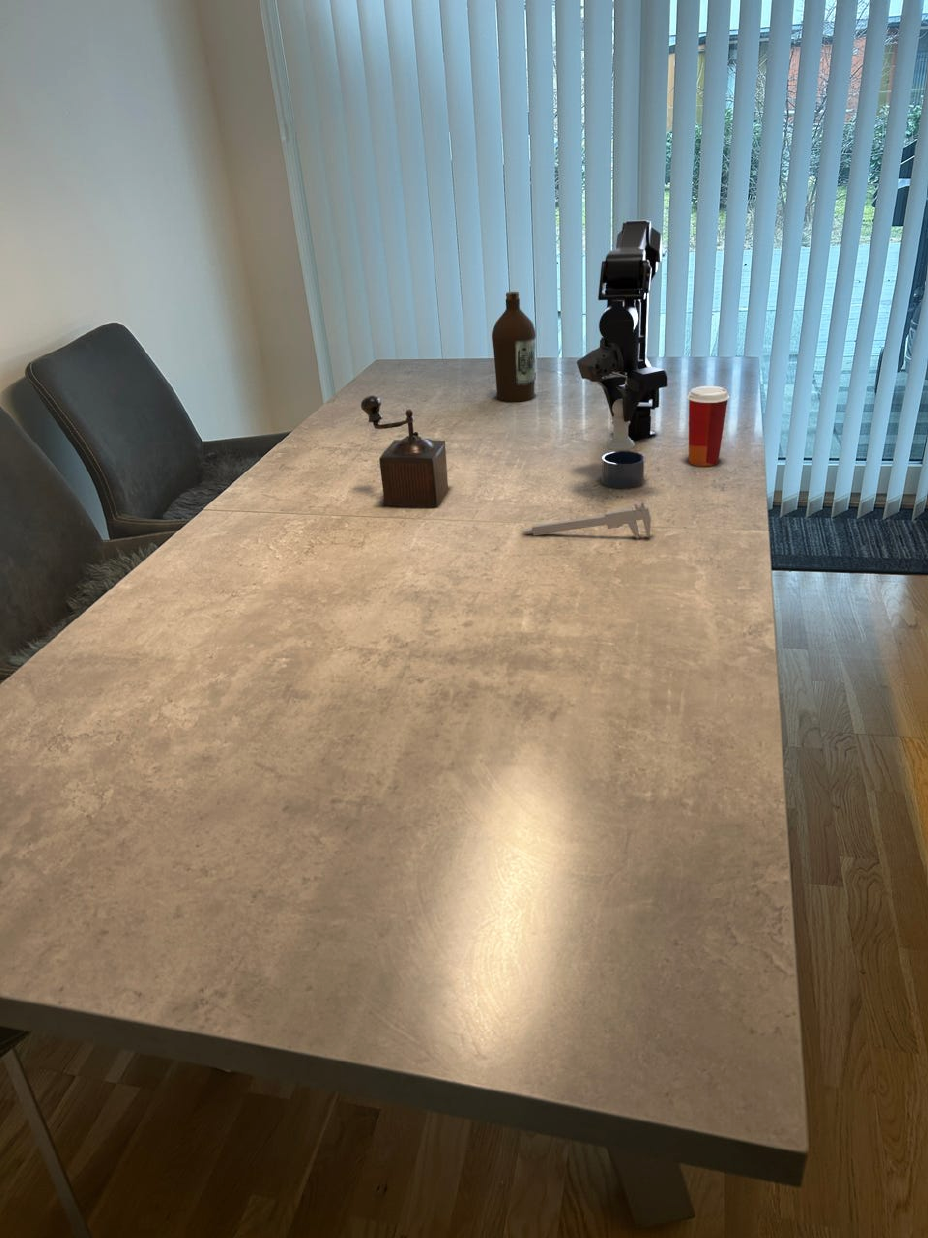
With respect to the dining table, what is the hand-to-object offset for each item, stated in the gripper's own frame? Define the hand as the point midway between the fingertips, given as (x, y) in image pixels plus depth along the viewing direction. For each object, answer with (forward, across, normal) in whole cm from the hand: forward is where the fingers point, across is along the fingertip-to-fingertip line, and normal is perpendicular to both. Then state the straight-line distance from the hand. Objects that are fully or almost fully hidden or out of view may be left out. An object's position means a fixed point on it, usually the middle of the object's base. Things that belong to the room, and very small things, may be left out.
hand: (620, 419), depth 162 cm
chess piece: (+6, 0, 0) cm, 6 cm away
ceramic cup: (+12, 0, 0) cm, 12 cm away
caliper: (+12, +17, -20) cm, 29 cm away
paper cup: (+12, +1, +20) cm, 23 cm away
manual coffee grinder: (+12, -18, -36) cm, 42 cm away
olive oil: (+12, -64, +16) cm, 67 cm away
